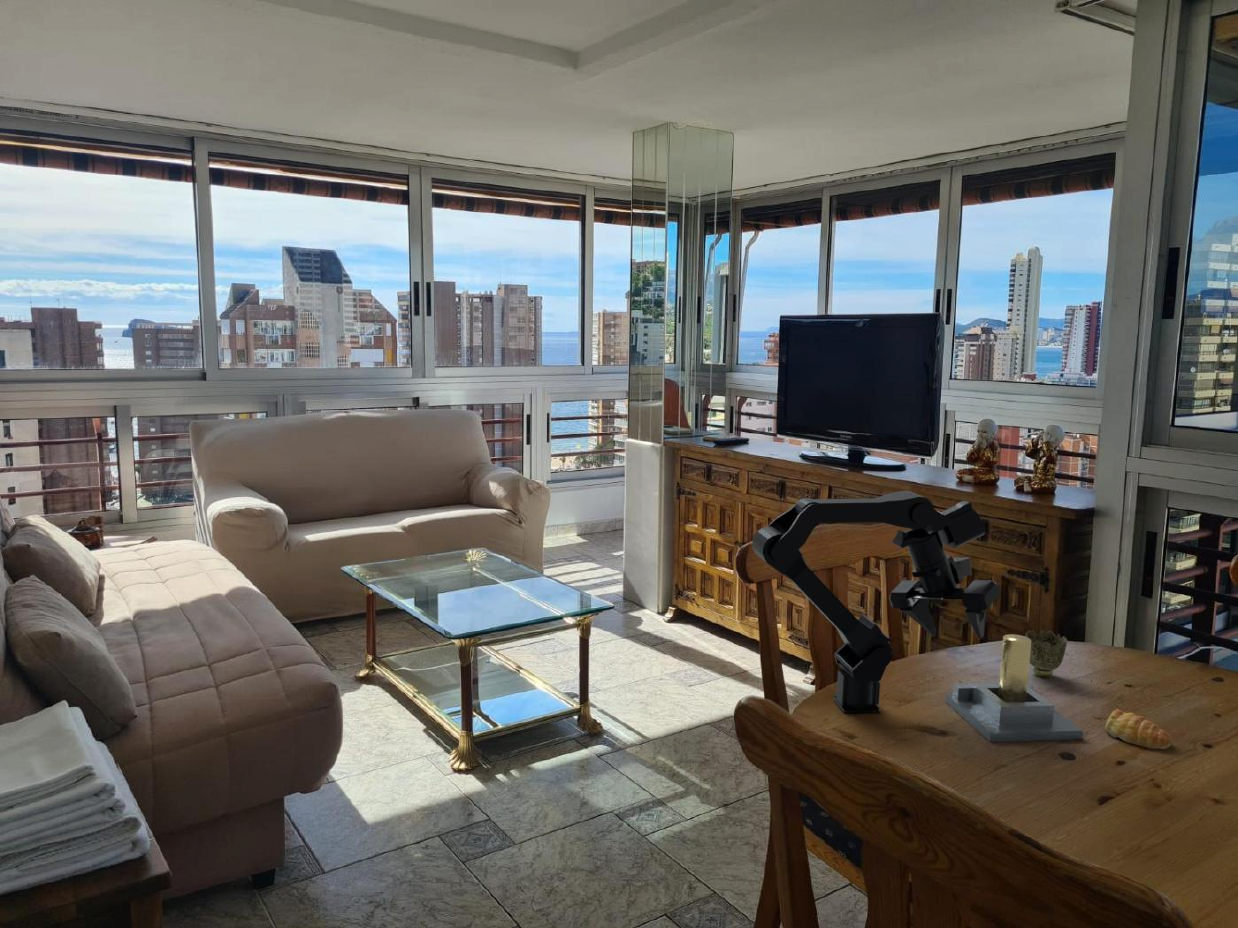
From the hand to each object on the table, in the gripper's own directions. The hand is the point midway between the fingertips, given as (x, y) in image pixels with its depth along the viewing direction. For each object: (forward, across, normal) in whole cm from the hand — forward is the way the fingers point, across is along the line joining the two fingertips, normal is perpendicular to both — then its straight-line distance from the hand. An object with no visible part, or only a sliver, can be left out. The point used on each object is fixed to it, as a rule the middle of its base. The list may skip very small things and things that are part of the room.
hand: (957, 635), depth 161 cm
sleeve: (+13, -7, +3) cm, 15 cm away
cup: (+21, -1, -20) cm, 29 cm away
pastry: (+21, -22, -5) cm, 31 cm away
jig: (+14, -7, +4) cm, 16 cm away
